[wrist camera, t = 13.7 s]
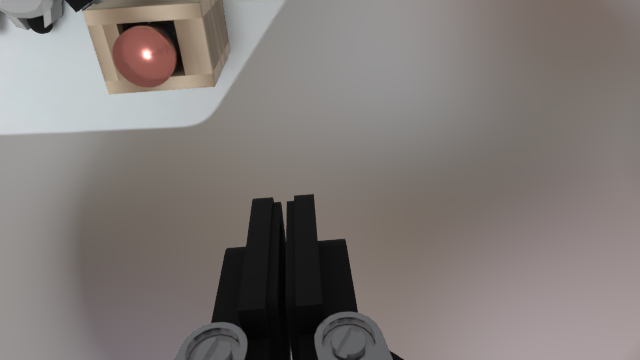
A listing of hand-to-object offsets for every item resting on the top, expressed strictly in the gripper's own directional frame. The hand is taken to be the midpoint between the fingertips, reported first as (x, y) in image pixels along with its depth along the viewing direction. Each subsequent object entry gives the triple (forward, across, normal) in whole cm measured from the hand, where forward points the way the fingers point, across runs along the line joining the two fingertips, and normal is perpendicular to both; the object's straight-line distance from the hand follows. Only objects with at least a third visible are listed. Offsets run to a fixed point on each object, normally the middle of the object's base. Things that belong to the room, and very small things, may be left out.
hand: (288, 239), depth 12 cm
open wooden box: (+33, +10, 0) cm, 34 cm away
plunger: (+27, +10, 0) cm, 29 cm away
